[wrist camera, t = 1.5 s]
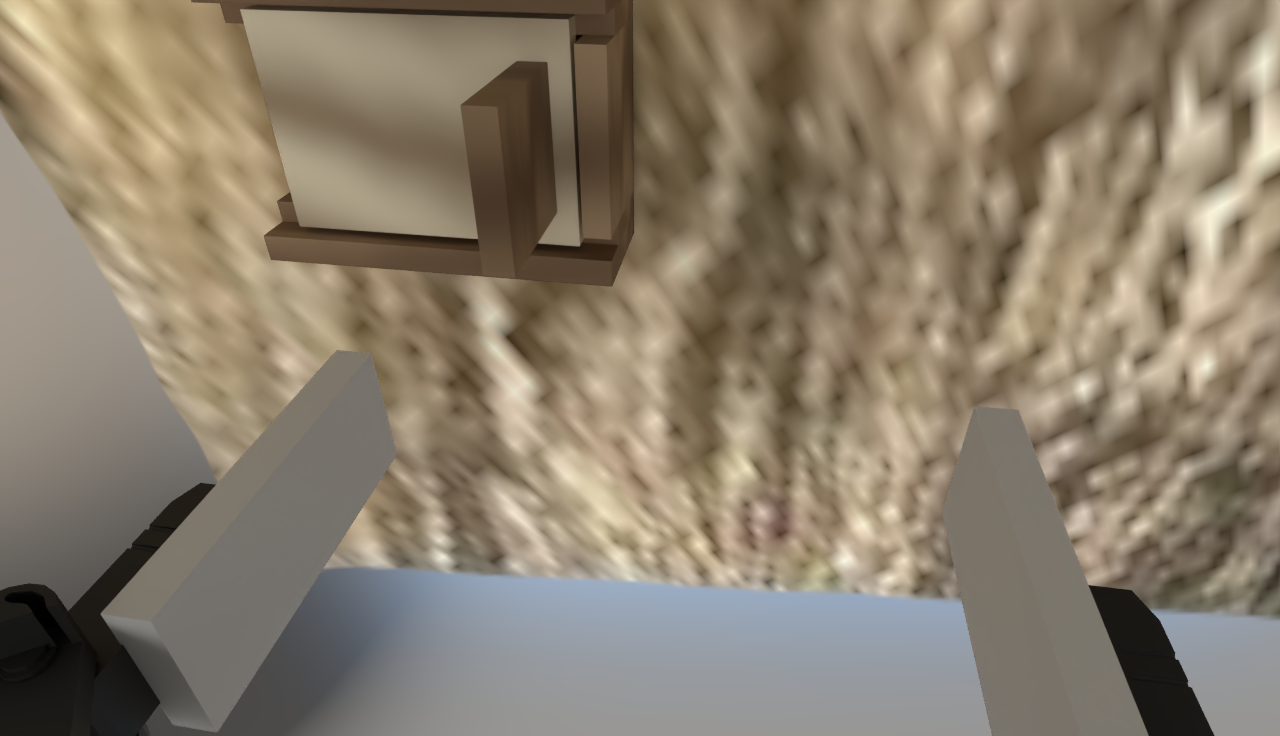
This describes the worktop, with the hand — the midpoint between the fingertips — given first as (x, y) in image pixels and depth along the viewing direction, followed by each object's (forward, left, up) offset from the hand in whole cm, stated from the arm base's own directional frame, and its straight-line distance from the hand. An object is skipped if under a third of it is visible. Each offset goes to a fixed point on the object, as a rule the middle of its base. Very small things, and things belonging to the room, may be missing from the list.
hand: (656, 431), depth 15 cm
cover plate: (0, -12, -18) cm, 22 cm away
